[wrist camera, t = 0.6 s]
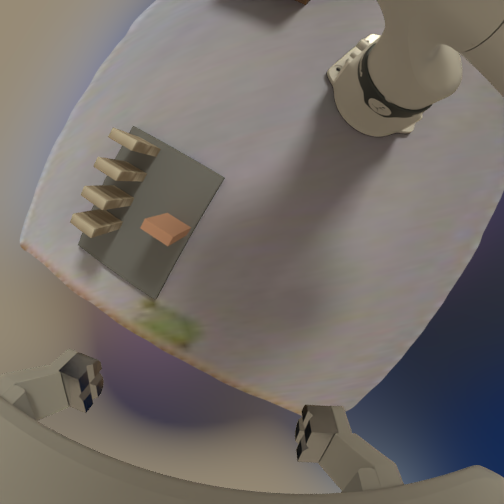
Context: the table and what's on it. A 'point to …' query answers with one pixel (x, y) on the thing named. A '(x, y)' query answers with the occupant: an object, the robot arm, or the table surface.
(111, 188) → the domino
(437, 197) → the table surface
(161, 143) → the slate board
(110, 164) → the domino
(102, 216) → the domino
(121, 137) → the domino
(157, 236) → the end domino
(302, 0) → the tissue box cover
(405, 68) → the robot arm
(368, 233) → the table surface
